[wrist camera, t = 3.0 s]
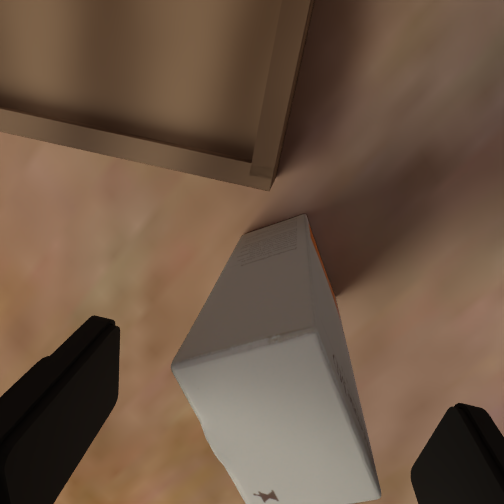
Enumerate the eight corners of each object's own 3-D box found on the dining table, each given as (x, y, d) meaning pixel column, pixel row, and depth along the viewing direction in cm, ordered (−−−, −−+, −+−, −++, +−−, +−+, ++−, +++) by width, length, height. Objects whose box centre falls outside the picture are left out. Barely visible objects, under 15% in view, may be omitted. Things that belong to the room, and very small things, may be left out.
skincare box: (338, 297, 20) (388, 506, 9) (274, 315, 21) (247, 521, 10) (306, 208, 18) (320, 328, 7) (239, 232, 19) (159, 369, 8)
